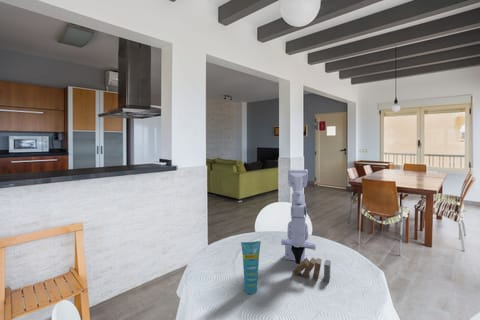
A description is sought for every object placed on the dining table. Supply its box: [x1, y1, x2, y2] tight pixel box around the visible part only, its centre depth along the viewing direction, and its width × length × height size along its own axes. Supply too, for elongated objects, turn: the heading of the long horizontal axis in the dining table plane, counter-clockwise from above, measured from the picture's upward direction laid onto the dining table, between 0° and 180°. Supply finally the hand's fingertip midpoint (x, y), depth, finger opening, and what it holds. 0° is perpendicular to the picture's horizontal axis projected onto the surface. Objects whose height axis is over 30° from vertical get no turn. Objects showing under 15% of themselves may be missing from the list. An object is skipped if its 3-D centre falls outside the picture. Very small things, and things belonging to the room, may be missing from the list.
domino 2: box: [302, 257, 317, 279], centre depth 108 cm, size 2×5×7 cm, turn 156°
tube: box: [240, 240, 261, 295], centre depth 97 cm, size 7×5×19 cm, turn 103°
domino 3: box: [312, 257, 323, 281], centre depth 107 cm, size 2×5×7 cm, turn 155°
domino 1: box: [292, 257, 310, 276], centre depth 109 cm, size 2×5×7 cm
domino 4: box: [323, 259, 332, 283], centre depth 105 cm, size 2×5×7 cm, turn 155°
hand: (298, 263), depth 110 cm, fingers closed
